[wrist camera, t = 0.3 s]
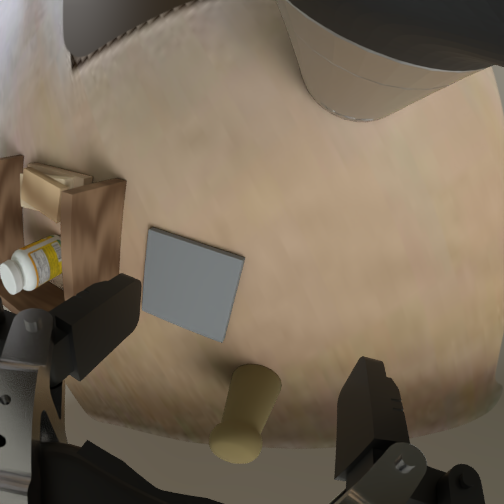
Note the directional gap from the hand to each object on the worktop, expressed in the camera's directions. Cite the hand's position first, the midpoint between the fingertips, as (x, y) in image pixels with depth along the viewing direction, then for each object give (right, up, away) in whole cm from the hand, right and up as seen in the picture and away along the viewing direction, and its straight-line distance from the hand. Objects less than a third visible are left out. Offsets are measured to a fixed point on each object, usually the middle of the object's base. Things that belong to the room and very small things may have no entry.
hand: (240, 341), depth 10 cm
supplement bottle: (-26, +3, +25) cm, 36 cm away
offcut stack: (-24, +11, +21) cm, 34 cm away
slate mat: (-6, 0, +21) cm, 22 cm away
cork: (+1, -12, +24) cm, 27 cm away
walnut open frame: (-25, +6, +23) cm, 35 cm away
